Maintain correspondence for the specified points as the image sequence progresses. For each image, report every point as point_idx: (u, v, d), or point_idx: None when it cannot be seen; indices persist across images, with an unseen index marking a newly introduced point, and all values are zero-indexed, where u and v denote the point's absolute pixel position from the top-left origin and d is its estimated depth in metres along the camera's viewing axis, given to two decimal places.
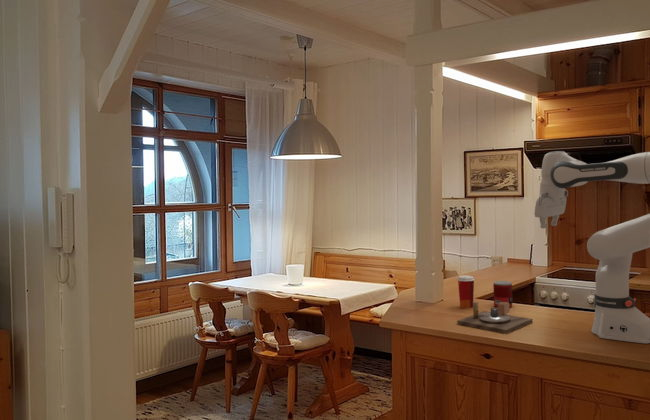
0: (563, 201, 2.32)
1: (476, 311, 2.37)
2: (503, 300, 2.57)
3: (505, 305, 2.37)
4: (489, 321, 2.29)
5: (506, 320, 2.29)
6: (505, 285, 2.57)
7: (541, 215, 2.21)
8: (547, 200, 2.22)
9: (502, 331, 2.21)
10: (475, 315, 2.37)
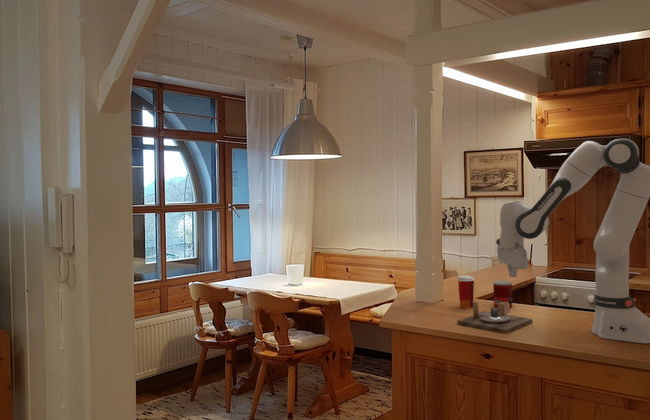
0: None
1: (476, 311, 2.37)
2: (503, 300, 2.57)
3: (505, 305, 2.37)
4: (489, 321, 2.29)
5: (506, 320, 2.29)
6: (505, 285, 2.57)
7: (526, 266, 2.22)
8: None
9: (502, 331, 2.21)
10: (475, 315, 2.37)
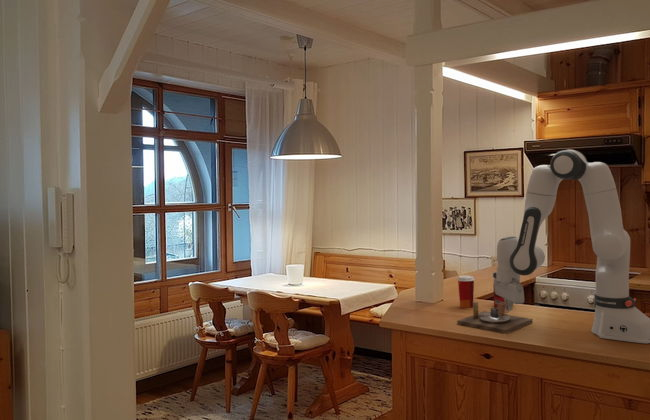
0: None
1: (476, 311, 2.37)
2: (503, 300, 2.57)
3: (505, 305, 2.37)
4: (489, 321, 2.29)
5: (506, 320, 2.29)
6: None
7: (523, 301, 2.26)
8: None
9: (502, 331, 2.21)
10: (475, 315, 2.37)
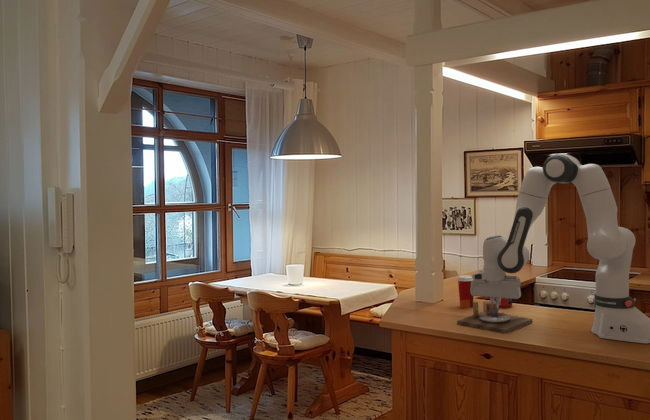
0: None
1: (476, 311, 2.37)
2: (503, 300, 2.57)
3: None
4: (502, 321, 2.28)
5: None
6: None
7: (520, 295, 2.36)
8: None
9: (502, 331, 2.21)
10: (475, 315, 2.37)
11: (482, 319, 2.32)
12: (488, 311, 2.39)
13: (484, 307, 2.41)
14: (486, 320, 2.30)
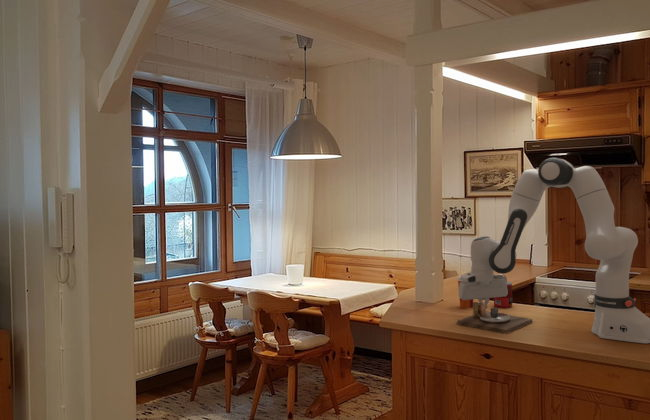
0: None
1: (476, 311, 2.37)
2: (503, 300, 2.57)
3: None
4: (509, 319, 2.31)
5: None
6: None
7: None
8: None
9: (502, 331, 2.21)
10: (475, 315, 2.37)
11: (491, 321, 2.29)
12: (482, 312, 2.37)
13: None
14: (496, 321, 2.28)
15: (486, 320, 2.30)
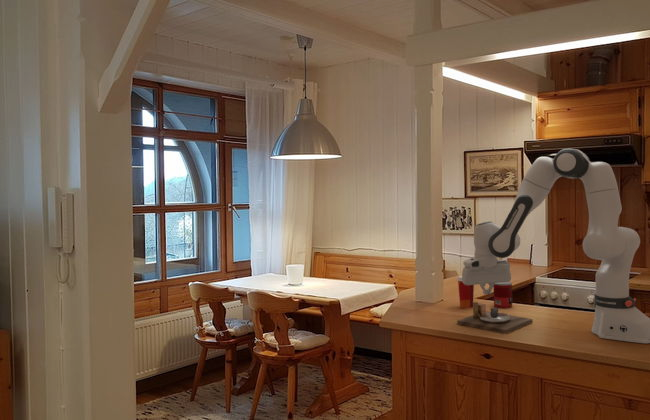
0: None
1: (476, 311, 2.37)
2: (503, 300, 2.57)
3: None
4: (509, 319, 2.31)
5: None
6: (505, 285, 2.57)
7: None
8: None
9: (502, 331, 2.21)
10: (475, 315, 2.37)
11: (491, 321, 2.29)
12: (482, 312, 2.37)
13: None
14: (496, 321, 2.28)
15: (486, 320, 2.30)
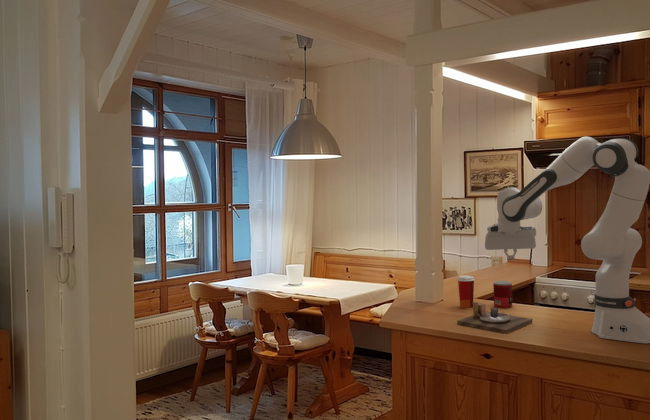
0: None
1: (476, 311, 2.37)
2: (503, 300, 2.57)
3: None
4: (509, 319, 2.31)
5: None
6: (505, 285, 2.57)
7: None
8: None
9: (502, 331, 2.21)
10: (475, 315, 2.37)
11: (491, 321, 2.29)
12: (482, 312, 2.37)
13: None
14: (496, 321, 2.28)
15: (486, 320, 2.30)
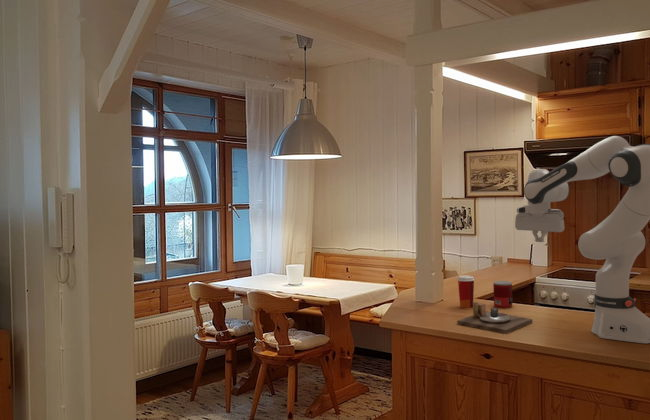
0: None
1: (476, 311, 2.37)
2: (503, 300, 2.57)
3: None
4: (509, 319, 2.31)
5: None
6: (505, 285, 2.57)
7: None
8: None
9: (502, 331, 2.21)
10: (475, 315, 2.37)
11: (491, 321, 2.29)
12: (482, 312, 2.37)
13: None
14: (496, 321, 2.28)
15: (486, 320, 2.30)
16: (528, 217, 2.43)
